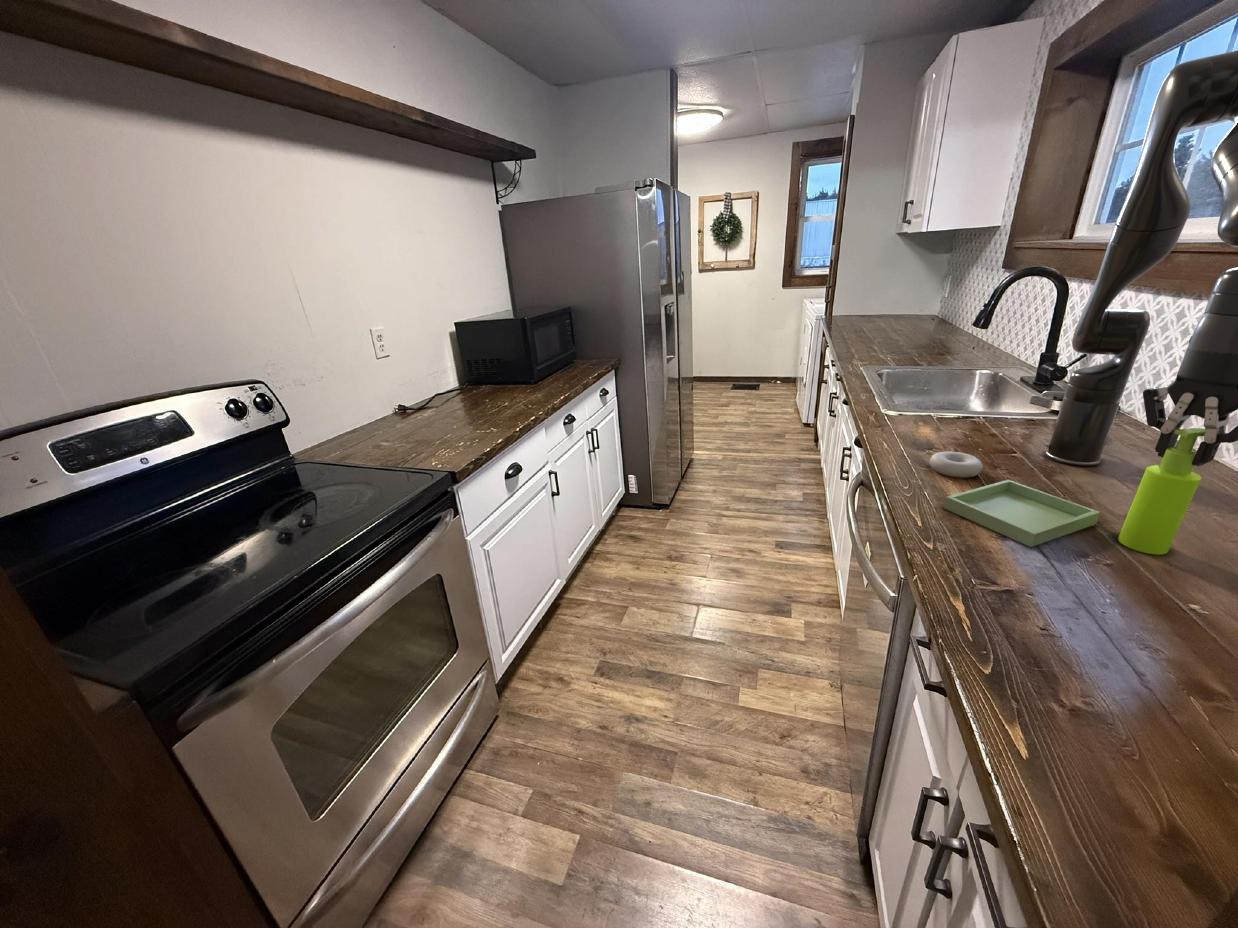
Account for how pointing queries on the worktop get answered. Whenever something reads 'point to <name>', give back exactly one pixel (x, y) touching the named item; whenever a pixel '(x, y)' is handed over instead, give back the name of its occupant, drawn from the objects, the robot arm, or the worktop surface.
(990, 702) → the worktop surface
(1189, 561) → the worktop surface
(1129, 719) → the worktop surface
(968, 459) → the donut
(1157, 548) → the soap dispenser
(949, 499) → the tray
